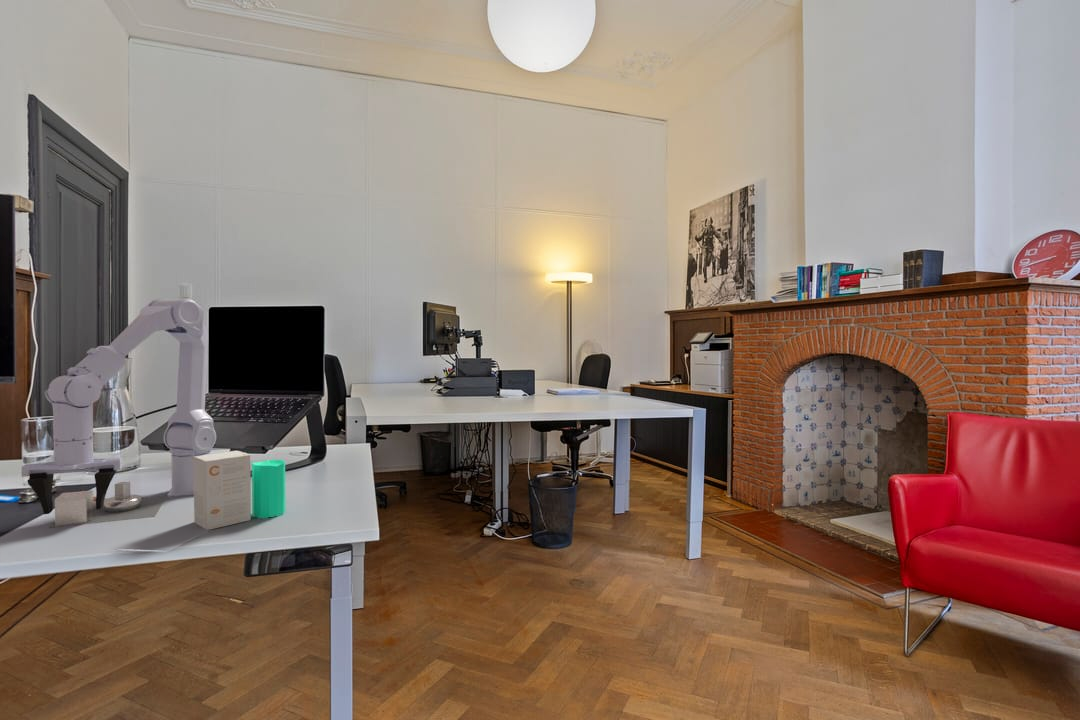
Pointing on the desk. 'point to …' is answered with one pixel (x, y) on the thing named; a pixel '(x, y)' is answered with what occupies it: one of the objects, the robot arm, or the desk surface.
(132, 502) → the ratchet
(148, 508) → the mat
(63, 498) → the pale grey cube
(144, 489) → the desk surface
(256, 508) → the candle
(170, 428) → the robot arm
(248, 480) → the small box
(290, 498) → the desk surface
